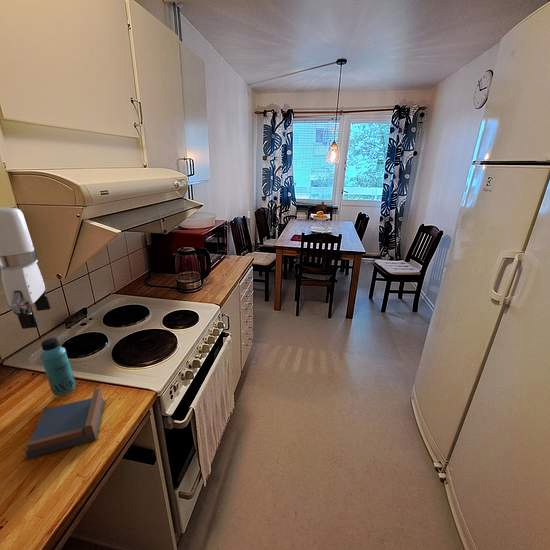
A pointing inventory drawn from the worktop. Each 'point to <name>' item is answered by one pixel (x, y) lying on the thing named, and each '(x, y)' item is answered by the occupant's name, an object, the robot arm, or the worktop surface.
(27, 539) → the worktop surface
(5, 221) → the robot arm
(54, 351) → the beverage bottle
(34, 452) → the blue square tray
